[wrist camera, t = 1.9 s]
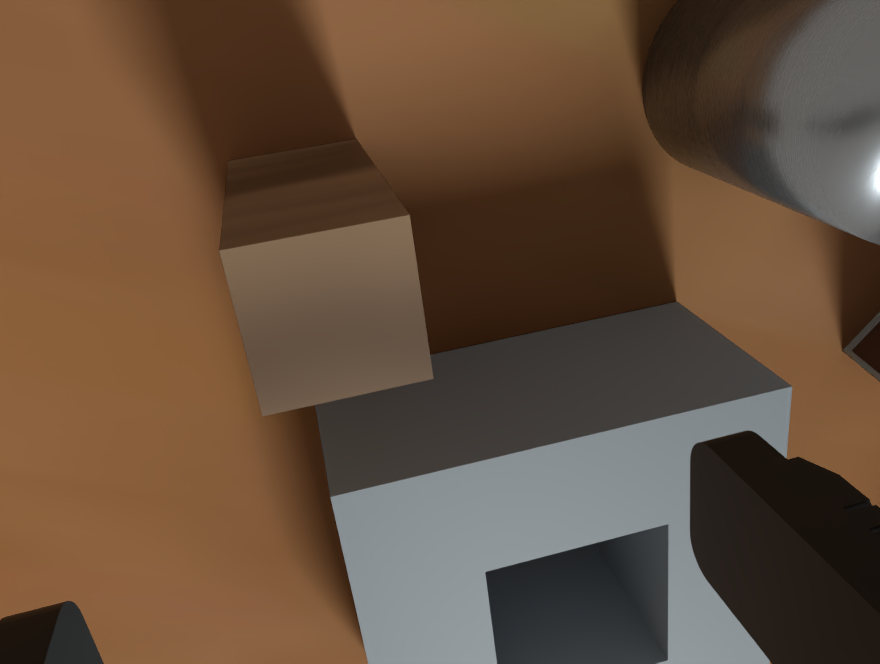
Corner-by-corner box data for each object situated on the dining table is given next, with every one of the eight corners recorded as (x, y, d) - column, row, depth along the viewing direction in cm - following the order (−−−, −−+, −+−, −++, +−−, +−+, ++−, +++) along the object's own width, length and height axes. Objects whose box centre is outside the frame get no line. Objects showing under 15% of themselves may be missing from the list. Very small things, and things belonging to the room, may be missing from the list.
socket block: (310, 380, 28) (329, 497, 21) (677, 301, 30) (792, 386, 23) (374, 663, 34) (403, 818, 27) (674, 580, 36) (765, 707, 29)
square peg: (228, 160, 24) (219, 250, 16) (356, 138, 25) (409, 214, 17) (257, 281, 26) (262, 416, 18) (376, 257, 26) (433, 379, 18)
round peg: (641, -18, 25) (832, -18, 17) (828, -46, 26) (1094, -59, 18) (643, 186, 27) (807, 270, 19) (811, 154, 28) (1034, 221, 20)
